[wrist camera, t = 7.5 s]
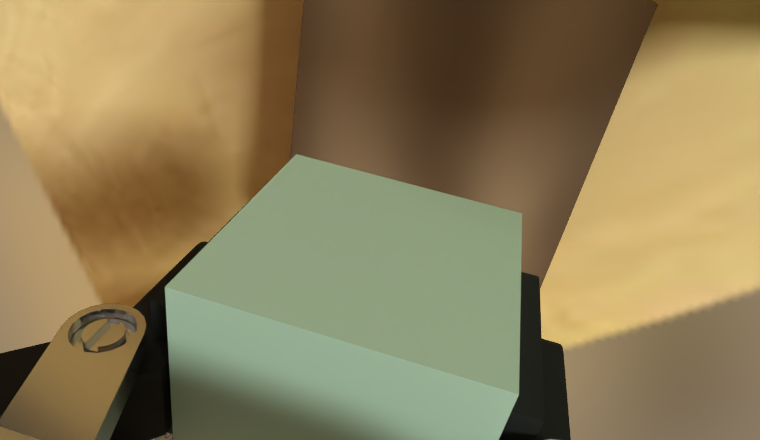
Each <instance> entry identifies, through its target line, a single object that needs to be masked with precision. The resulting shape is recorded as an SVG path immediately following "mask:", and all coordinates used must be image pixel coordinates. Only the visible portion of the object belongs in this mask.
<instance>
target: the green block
mask: <svg viewBox="0 0 760 440" xmlns="http://www.w3.org/2000/svg"><path fill="white" fill-rule="evenodd" d="M521 252H522V213H518V212H515V211H511V210H507V209H503V208H499V207H496V206H492V205H488V204H484V203H480V202H476V201H473V200H469V199H465V198H461V197H457V196H454V195H450V194H446V193H442V192H438V191H435V190H431V189H427V188H423V187H419V186H416V185H412V184H408V183H404V182H400V181H397V180H393V179H389V178H385V177H381V176H378V175H374V174H370V173H366V172H362V171H359V170H355V169H351V168H347V167H343V166H340V165H336V164H332V163H328V162H324V161H321V160H317V159H313V158H309V157H305V156H302V155H298V154H296V155H295V156H294V157H293V158H292V159H291V160H290V161H289V162H288V163H287V164H286V165H285V166H284V167H283V168H282V169H281V170H280V171H279V172H278V173H277V174H276V175H275V176H274V177H273V178H272V179H271V180H270V181H269V182H268V183H267V184H266V185H265V186H264V187H263V188H262V189H261V190H260V191H259V192H258V193H257V194H256V195H255V196H254V197H253V198H252V199H251V200H250V201H249V202H248V203H247V204H246V205H245V206H244V207H243V208H242V209H241V210H240V211H239V213H238V214H237V215H236V216H235V217H234V218H233V219H232V220H231V221H230V222H229V223H228V224H227V225H226V226H225V227H224V228H223V229H222V230H221V231H220V232H219V233H218V234H217V235H216V236H215V237H214V238H213V239H212V240H211V241H210V242H209V243H208V244H207V245H206V246H205V247H204V248H203V249H202V250H201V251H200V252H199V253H198V254H197V255H196V256H195V257H194V258H193V259H192V260H191V261H190V262H189V263H188V264H187V265H186V266H185V267H184V268H183V269H182V270H181V271H180V272H179V273H178V274H177V275H176V276H175V277H174V278H173V279H172V280H171V281H170V282H169V283H168V284H167V285H166V286H165V300H166V318H167V337H168V355H169V373H170V391H171V410H172V428H173V440H499V438H500V436H501V434H502V431H503V429H504V427H505V425H506V422H507V420H508V418H509V416H510V413H511V411H512V409H513V407H514V405H515V402H516V400H517V398H518V396H519V364H520V308H521Z"/></svg>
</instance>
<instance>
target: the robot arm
mask: <svg viewBox="0 0 760 440" xmlns="http://www.w3.org/2000/svg"><path fill="white" fill-rule="evenodd" d="M238 213H239V212H238ZM238 213H237V214H238ZM237 214H236V215H237ZM236 215H235V216H236ZM235 216H234V217H235ZM234 217H233V218H234ZM233 218H232V219H233ZM232 219H231V220H232ZM231 220H230V221H231ZM230 221H229V222H230ZM229 222H228V223H229ZM228 223H227V224H228ZM227 224H226V225H227ZM226 225H225V226H226ZM225 226H224V227H225ZM224 227H223V228H224ZM223 228H222V229H223ZM222 229H221V230H222ZM221 230H220V231H221ZM220 231H219V232H220ZM219 232H218V233H219ZM218 233H217V234H218ZM217 234H216V235H217ZM216 235H215V236H216ZM215 236H214V237H215ZM214 237H213V238H214ZM213 238H212V239H213ZM212 239H211V240H212ZM211 240H210V241H211ZM210 241H209V242H210ZM209 242H200V243H199V244H198V245H196V246H195V247H194V248H193V249H192V250H191V251H190V252H189V253H188V254H187V255H186V256H185V257H184V258H183V259H182V260H181V261H180V262H179V263H178V264H177V265H176V266H175V267H174V268H173V269H172V270H171V271H170V272H169V273H168V274H167V275H166V276H165V277H164V278H163V279H162V280H161V281H160V282H159V283H158V284H157V285H156V286H155V287H154V288H152V289H151V290H150V291H149V292H148V293H147V294H146V295H145V296H144V297H143V298H142V299H141V300H140V301H139V302H138V303H137V304H136V305H135V306H134V307H133V308H132V307H130V306H127V305H122V304H101V305H96V306H91V307H89V308H86V309H84V310H81V311H79V312H78V313H76V314H74V315H73V316H71V317H70V318H68V320H67V321H66V322H65V323H64V324H63V325H62V326H61V328H60V330H59V331H58V332H57V334H56V335H55V337H54V338H53V340H52V341H51V342H48V343H44V344H39V345H35V346H31V347H26V348H22V349H18V350H14V351H9V352H5V353H0V440H154V439H155V438H157V437H160V436H163V435H165V434H166V433H167V432H168V433H171V434H173V428H172V410H171V391H170V373H169V355H168V337H167V318H166V300H165V286H166V285H167V284H168V283H169V282H170V281H171V280H172V279H173V278H174V277H175V276H176V275H177V274H178V273H179V272H180V271H181V270H182V269H183V268H184V267H185V266H186V265H187V264H188V263H189V262H190V261H191V260H192V259H193V258H194V257H195V256H196V255H197V254H198V253H199V252H200V251H201V250H202V249H203V248H204V247H205V246H206V245H207V244H208V243H209ZM499 440H570V427H569V416H568V403H567V390H566V379H565V366H564V354H563V348H562V346H561V344H558V343H555V342H551V341H548V340H544V339H541V313H540V283H539V277H538V276H536V275H532V274H528V273H525V272H521V308H520V364H519V396H518V398H517V400H516V402H515V405H514V407H513V409H512V411H511V413H510V416H509V418H508V420H507V422H506V425H505V427H504V429H503V431H502V434H501V436H500V438H499Z"/></svg>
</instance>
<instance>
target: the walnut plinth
mask: <svg viewBox="0 0 760 440" xmlns="http://www.w3.org/2000/svg"><path fill="white" fill-rule="evenodd" d="M657 5H658V4H657V3H655V2H654V1H652V0H304V5H303V16H302V28H301V39H300V51H299V63H298V74H297V86H296V97H295V109H294V120H293V132H292V144H291V155H290V160H291V159H292V158H293V157H294V156H295V155H296V154H298V155H302V156H305V157H309V158H313V159H317V160H321V161H324V162H328V163H332V164H336V165H340V166H343V167H347V168H351V169H355V170H359V171H362V172H366V173H370V174H374V175H378V176H381V177H385V178H389V179H393V180H397V181H400V182H404V183H408V184H412V185H416V186H419V187H423V188H427V189H431V190H435V191H438V192H442V193H446V194H450V195H454V196H457V197H461V198H465V199H469V200H473V201H476V202H480V203H484V204H488V205H492V206H496V207H499V208H503V209H507V210H511V211H515V212H518V213H522V252H521V272H525V273H528V274H532V275H536V276H538V277H539V283H540V288H541V285H542V283H543V280H544V278H545V275H546V273H547V271H548V268H549V266H550V263H551V261H552V259H553V256H554V254H555V251H556V249H557V246H558V244H559V242H560V239H561V237H562V234H563V232H564V230H565V227H566V225H567V222H568V220H569V217H570V215H571V213H572V210H573V208H574V205H575V203H576V201H577V198H578V196H579V193H580V191H581V188H582V186H583V184H584V181H585V179H586V176H587V174H588V172H589V169H590V167H591V164H592V162H593V159H594V157H595V155H596V152H597V150H598V147H599V145H600V143H601V140H602V138H603V135H604V133H605V130H606V128H607V126H608V123H609V121H610V118H611V116H612V114H613V111H614V109H615V106H616V104H617V101H618V99H619V97H620V94H621V92H622V89H623V87H624V85H625V82H626V80H627V77H628V75H629V72H630V70H631V68H632V65H633V63H634V60H635V58H636V55H637V53H638V51H639V48H640V46H641V43H642V41H643V39H644V36H645V34H646V31H647V29H648V26H649V24H650V22H651V19H652V17H653V14H654V12H655V10H656V7H657Z"/></svg>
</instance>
